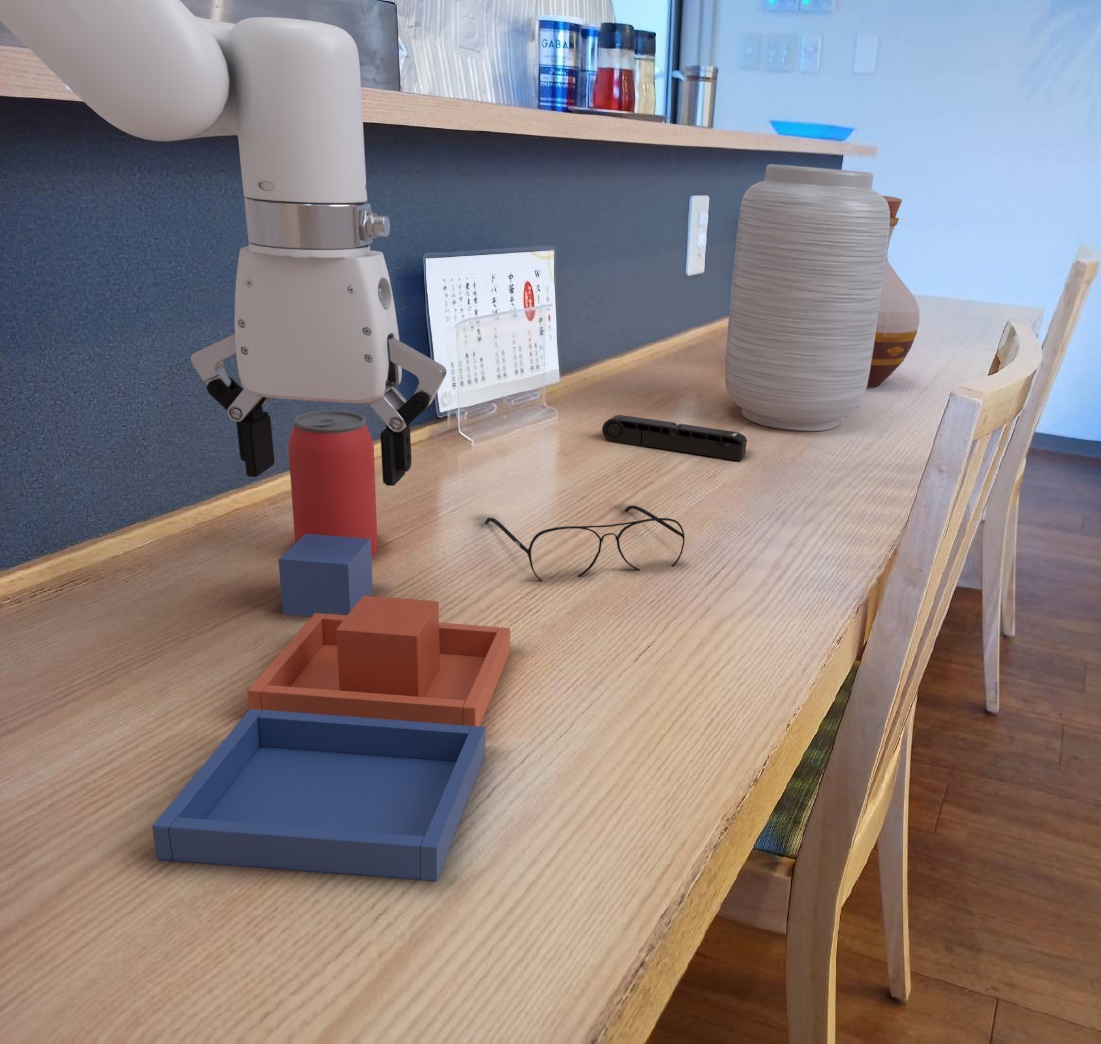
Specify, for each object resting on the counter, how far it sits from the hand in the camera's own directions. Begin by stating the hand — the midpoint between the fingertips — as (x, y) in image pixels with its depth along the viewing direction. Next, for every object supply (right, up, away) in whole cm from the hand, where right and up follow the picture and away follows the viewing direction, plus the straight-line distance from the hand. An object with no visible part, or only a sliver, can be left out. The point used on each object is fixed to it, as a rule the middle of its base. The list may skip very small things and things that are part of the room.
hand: (328, 475), depth 71 cm
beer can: (-4, -6, +13) cm, 15 cm away
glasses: (+16, -6, +19) cm, 25 cm away
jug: (+54, +20, +97) cm, 112 cm away
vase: (+40, +11, +70) cm, 81 cm away
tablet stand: (+24, +5, +51) cm, 56 cm away
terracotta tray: (+7, -14, -7) cm, 17 cm away
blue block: (-1, -10, +4) cm, 11 cm away
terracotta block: (+7, -14, -7) cm, 17 cm away
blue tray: (+7, -19, -18) cm, 27 cm away
